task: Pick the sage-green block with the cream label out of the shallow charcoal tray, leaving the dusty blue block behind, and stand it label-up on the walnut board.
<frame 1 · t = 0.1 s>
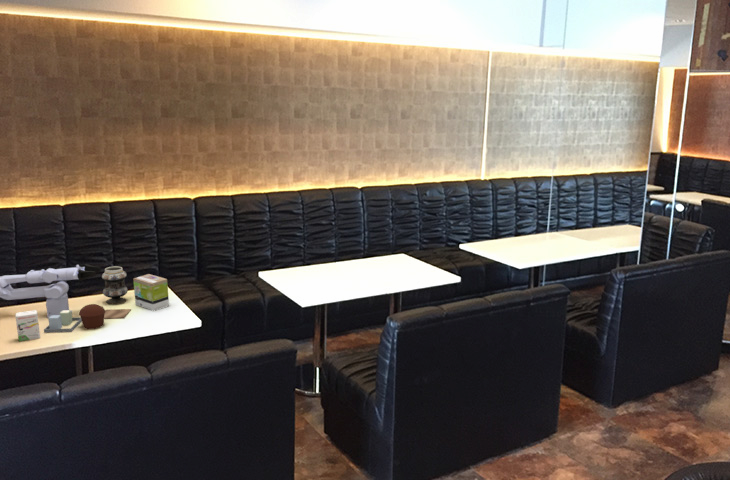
hand: (97, 271, 308), 22 cm above the table, tool horizontal, fingers open, 7 cm apart
parts tray: (64, 326, 296), on the table
apothecary jar: (116, 302, 331), on the table
ink box: (29, 338, 282), on the table
blue block: (56, 329, 293), resting in parts tray
walnut board: (115, 314, 312), on the table
muffin: (93, 326, 297), on the table
tea box: (152, 306, 325), on the table
sage block: (66, 323, 300), resting in parts tray
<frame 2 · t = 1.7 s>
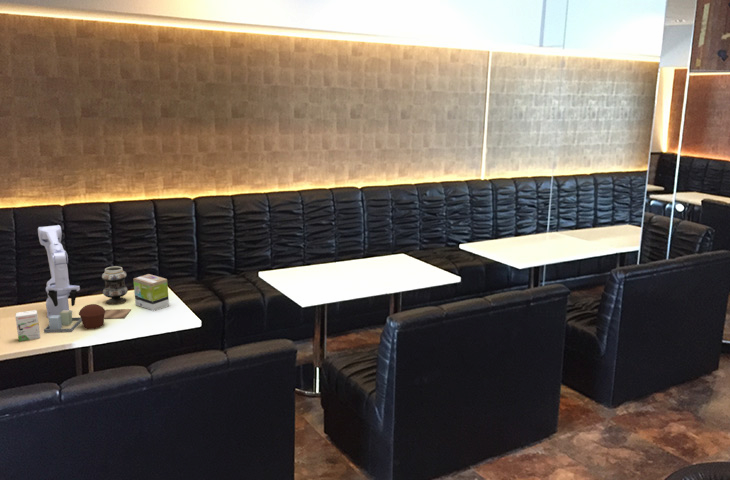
hand: (64, 305, 298), 9 cm above the table, tool pointing down, fingers open, 7 cm apart
nothing on the table moved.
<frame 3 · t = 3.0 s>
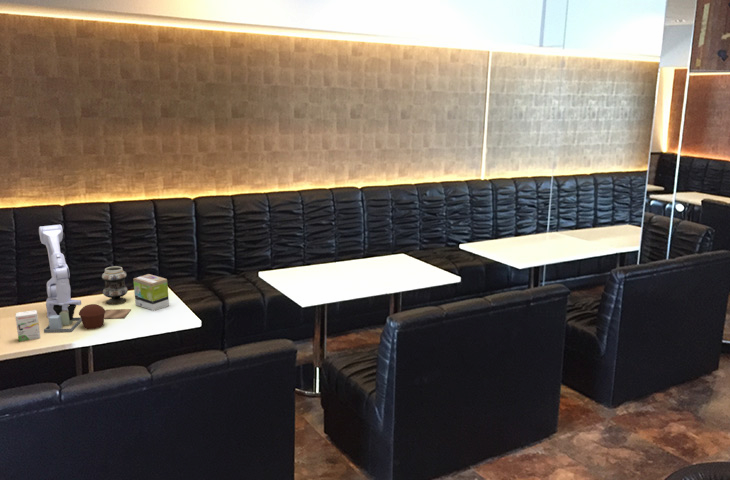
hand: (66, 319, 299), 2 cm above the table, tool pointing down, fingers closed on sage block, 4 cm apart
sage block: (66, 323, 300), resting in parts tray, touching gripper
everything else where it was.
when the fingers open (4 cm above the table, at t = 7.9 s): sage block drops 1 cm, resting on walnut board.
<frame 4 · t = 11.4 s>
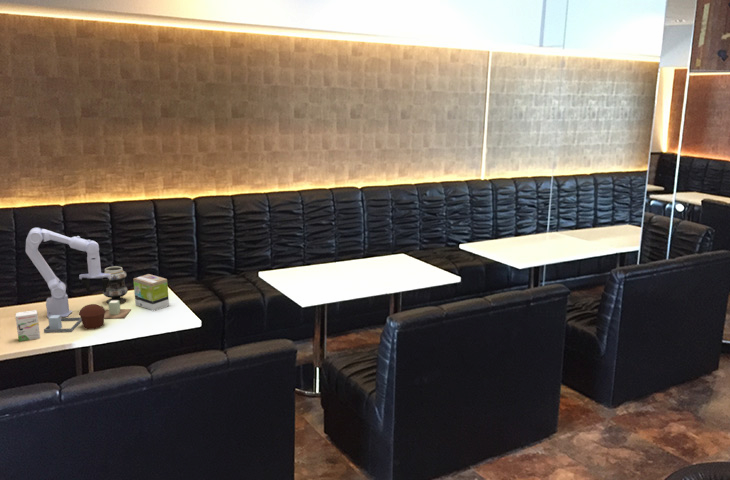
hand: (96, 292, 316), 9 cm above the table, tool pointing down, fingers open, 7 cm apart
sage block: (115, 313, 312), point 1 cm above the table, touching walnut board
everything else where it was.
at the end: sage block inside the target area on the walnut board (0.1 cm from its centre), point 0.6 cm above the walnut board's base; sage block tilted 0°; the gripper is holding nothing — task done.
